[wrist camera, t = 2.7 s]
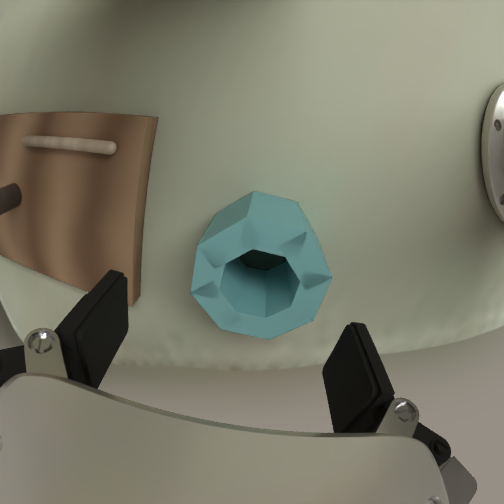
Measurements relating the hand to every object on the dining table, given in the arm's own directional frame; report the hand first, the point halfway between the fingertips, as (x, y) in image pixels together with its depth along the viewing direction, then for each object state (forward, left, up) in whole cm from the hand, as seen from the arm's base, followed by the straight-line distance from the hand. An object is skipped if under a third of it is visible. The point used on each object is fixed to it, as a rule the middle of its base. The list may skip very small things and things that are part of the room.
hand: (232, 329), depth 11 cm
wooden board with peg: (+16, -1, -8) cm, 18 cm away
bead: (-1, -1, -8) cm, 8 cm away
